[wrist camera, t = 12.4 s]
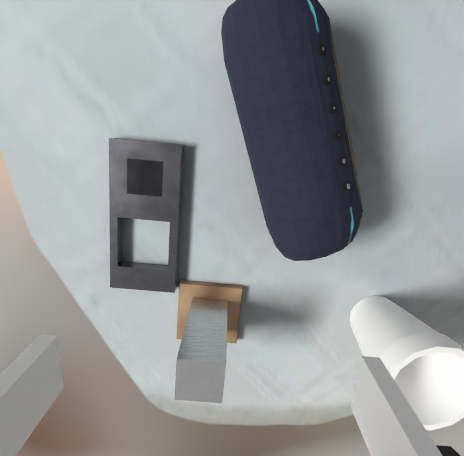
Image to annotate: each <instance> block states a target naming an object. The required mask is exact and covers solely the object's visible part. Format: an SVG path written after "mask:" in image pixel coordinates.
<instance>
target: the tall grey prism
mask: <svg viewBox="0 0 464 456" xmlns="http://www.w3.org/2000/svg"><path fill="white" fill-rule="evenodd" d="M227 307H228V300H221V299H209V298H197V297H193V298H192V302H191V306H190V310H189V314H188V317H187V321H186V325H185V329H184V333H183V337H182V341H181V345H180V348H179V352H178V356H177V365H176V384H175V400H188V401H201V402H215V403H222V398H223V388H224V378H225V368H226V345H227Z"/></svg>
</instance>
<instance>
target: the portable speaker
mask: <svg viewBox="0 0 464 456" xmlns="http://www.w3.org/2000/svg"><path fill="white" fill-rule="evenodd" d="M221 34H222V43H223V52H224V62H225V66H226V69H227V73H228V77H229V81H230V85H231V89H232V93H233V97H234V101H235V104H236V108H237V112H238V116H239V120H240V124H241V128H242V132H243V135H244V139H245V143H246V147H247V151H248V155H249V159H250V163H251V167H252V170H253V174H254V178H255V182H256V186H257V190H258V194H259V198H260V202H261V205H262V209H263V213H264V217H265V221H266V225H267V228H268V230H269V232H270V234H271V237H272V239H273V241H274V243H275V246H276V247H277V248H278V250H279V251H280V252H281V253H282V254H283V255H284V257H286V258H288V259H291V260H294V261H301V260H313V259H317V258H322V257H326V256H328V255H331V254H333V253H335V252H338V251H340V250H342V249H344V248H345V247H346V246H347V245H348V244H349V243H351V242H352V241H353V239H354V237H355V235H356V233H357V230H358V227H359V224H360V221H361V217H362V212H363V210H362V204H361V199H360V192H359V187H358V181H357V175H356V169H355V164H354V158H353V153H352V147H351V141H350V135H349V130H348V124H347V118H346V112H345V107H344V101H343V95H342V89H341V84H340V78H339V73H338V67H337V61H336V56H335V50H334V44H333V38H332V34H331V27H330V21H329V17H328V15H327V13H326V12H325V10H324V8H323V7H322V6H321V4H320V3H319V2H318V0H236V1H235V2H234V3H233V4H231V5H230V6H229V7H228V8H227V10H226V12H225V14H224V16H223V21H222V32H221Z"/></svg>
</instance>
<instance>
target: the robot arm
mask: <svg viewBox="0 0 464 456" xmlns="http://www.w3.org/2000/svg"><path fill="white" fill-rule="evenodd" d="M62 389H63V380H62V371H61V361H60V352H59V343H58V336H56V335H39V336H38V337H37V338H36V339H35V340H34V341H33V342H32V343H31V344H30V345H29V346H28V347H27V348H26V349H25V350H24V351H23V352H22V353H21V354H20V355H19V356H18V357H17V358H16V359H15V360H14V361H13V362H12V363H11V364H10V365H9V366H8V367H7V368H6V369H5V370H4V371H3V372H2V373H1V374H0V456H16V454H17V453H18V452H19V450H20V449H21V447H22V446H23V444H24V443H25V442H26V440H27V439H28V437H29V436H30V434H31V433H32V432H33V430H34V428H35V427H36V426H37V425H38V423H39V422H40V420H41V419H42V417H43V416H44V415H45V413H46V412H47V410H48V409H49V407H50V406H51V405H52V403H53V402H54V400H55V399H56V398H57V396H58V395H59V393H60V392H61V390H62ZM351 409H352V411H353V414H354V416H355V418H356V420H357V423H358V426H359V428H360V430H361V433H362V435H363V437H364V440H365V442H366V445H367V447H368V450H369V452H370V455H371V456H460V455H459V454H458V453H457V452H456V451H455V450H454V449H453V448H452V447H450V446H437V445H435V443H434V442H433V440H432V439H431V437H430V435H429V434H428V433H427V431H426V429H425V428H424V426H423V425H422V423H421V421H420V420H419V418H418V417H417V415H416V414H415V412H414V410H413V409H412V407H411V406H410V404H409V403H408V401H407V400H406V398H405V396H404V395H403V393H402V392H401V390H400V389H399V387H398V385H397V384H396V382H395V381H394V379H393V378H392V376H391V374H390V373H389V371H388V370H387V368H386V367H385V365H384V364H383V362H382V360H381V359H380V357H365V356H362V358H361V363H360V367H359V372H358V377H357V382H356V386H355V391H354V396H353V401H352V405H351Z"/></svg>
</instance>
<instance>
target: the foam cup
mask: <svg viewBox="0 0 464 456" xmlns="http://www.w3.org/2000/svg"><path fill="white" fill-rule="evenodd" d="M350 324H351V327H352V329H353V332H354V334H355V337H356V339H357V342H358V344H359V347H360V349H361V351H362V354H363V356H365V357H380V359H381V360H382V362H383V364H384V365H385V367H386V368H387V370H388V371H389V373H390V374H391V376H392V378H393V379H394V381H395V382H396V384H397V385H398V387H399V389H400V390H401V392H402V393H403V395H404V396H405V398H406V400H407V401H408V403H409V404H410V406H411V407H412V409H413V410H414V412H415V414H416V415H417V417H418V418H419V420H420V421H421V423H422V425H423V426H424V428H425V429H426V430H435V429H438V428H442V427H446V426H449V425H453V424H455V423H456V422H457V421H459V420H460V419H462V418H463V417H464V348H463V347H462V346H461V345H460V344H458V343H457V342H455V341H453V340H452V339H450V338H449V337H447V336H445V335H444V334H440V333H438V332H437V331H435V330H434V329H432V328H431V327H429V326H428V325H426V324H425V323H423V322H422V321H420V320H419V319H417V318H416V317H414V316H413V315H411V314H410V313H408V312H407V311H405V310H404V309H402V308H401V307H400V306H398V305H397V304H395V303H393V302H392V301H390V300H389V299H387V298H385V297H383V296H370V297H367V298H364V299H362V300H361V301H360V302H358V303H357V304H356V305H355V306H354V308H353V310H352V312H351V314H350Z"/></svg>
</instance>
